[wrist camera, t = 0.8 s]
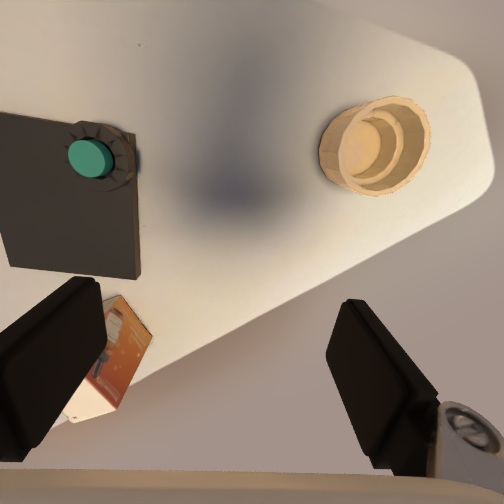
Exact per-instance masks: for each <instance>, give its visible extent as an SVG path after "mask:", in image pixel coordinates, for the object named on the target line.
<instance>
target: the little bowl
mask: <svg viewBox="0 0 504 504" xmlns="http://www.w3.org/2000/svg"><path fill="white" fill-rule="evenodd" d="M430 128H431V127H430V125H429V122H428V119H427V116H426V114H425V111H424V110H423V109H422V108H420V107H419V106H418V105H417V104H416V103H415V102H414V101H413V100H411V99H407V98H402V97H397V96H390V97H386V98H383V99H379V100H375V101H372V102H369V103H366V104H363V105H360V106H357V107H354V108H351V109H348V110H345V111H344V112H343V113H341V114H340V115H339V116H337V117H336V118H335V119H333V120H332V122H331V123H330V125H329V126H328V128H327V129H326V131H325V132H324V134H323V136H322V140H321V144H320V148H319V156H320V164H321V167H322V169H323V171H324V173H325V174H326V176H327V177H328V178H329V179H330V180H331V181H333V182H334V183H336V184H337V185H340V186H342V187H344V188H347V189H349V190H351V191H354V192H356V193H358V194H361V195H367V196H374V197H377V196H381V195H385V194H389V193H393V192H395V191H396V190H398V189H399V188H401V187H402V186H404V185H406V184H407V183H409V182H410V180H411V179H412V178H413V177H414V176H415V174H416V173H417V172H418V171H419V170H420V168H421V167H422V165H423V163H424V160H425V158H426V156H427V153H428V151H429V148H430V134H431V129H430Z"/></svg>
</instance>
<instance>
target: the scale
mask: <svg viewBox="0 0 504 504" xmlns="http://www.w3.org/2000/svg"><path fill="white" fill-rule="evenodd" d="M78 140H94V141H98V142H100V143H102V144H103V145H105V146H106V147H107V148H108V149H109V151H110V152H111V154H112V157H113V167H112V169H111V171H110V172H109V173H108V174H106V175H102V176H98V177H86V176H83V175H81V174H80V173H78V172H77V171H76V170H75V169H74V168H73V167H72V165H71V163H70V161H69V158H68V150H69V147H70V146H71V144H72V143H74V142H75V141H78ZM0 233H1V237H2V240H3V244H4V247H5V250H6V254H7V257H8V261H9V264H10V267H19V268H28V269H37V270H47V271H56V272H65V273H74V274H84V275H93V276H102V277H111V278H121V279H130V280H137V278H138V277H139V276H140V275H141V273H140V248H139V223H138V199H137V174H136V149H135V134H131V133H125V132H119V131H117V130H115V129H114V128H113V127H111V126H110V125H106V124H100V123H94V122H88V121H79V122H77V123H75V124H70V123H64V122H58V121H52V120H46V119H40V118H34V117H28V116H22V115H16V114H9V113H3V112H0Z"/></svg>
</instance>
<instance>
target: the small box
mask: <svg viewBox="0 0 504 504" xmlns="http://www.w3.org/2000/svg"><path fill="white" fill-rule="evenodd" d="M102 303H103V310H104V316H105V323H106V330H107V336H108V341H107V345H106V347H105V349H104V350H103V352H102V353H101V355H100V356H99V358H98V359H97V361H96V362H95V364H94V365H93V367H92V368H91V369H90V371H89V372H88V374H87V375H86V377H85V378H84V380H83V381H82V383H81V384H80V386H79V387H78V389H77V390H76V392H75V393H74V395H73V396H72V397H71V399H70V400H69V402H68V403H67V405H66V406H65V408H64V409H63V411H62V413H63V414H64V415H65V416H66V417H67V418H68V419H69V420H70V421H71V422H72V423H77V422H80V421H83V420H87V419H90V418H93V417H96V416H99V415H103V414H106V413H109V412H112V411H115V410H117V408H118V406H119V404H120V402H121V400H122V398H123V396H124V394H125V392H126V390H127V388H128V386H129V384H130V382H131V380H132V378H133V376H134V374H135V372H136V370H137V368H138V366H139V364H140V362H141V360H142V358H143V356H144V354H145V352H146V349H147V347H148V345H149V343H150V341H151V339H152V336H151V335H150V334H149V333H148V332H147V330H146V329H145V328H144V327H143V325H142V324H141V323H140V321H139V320H138V318H137V317H136V316H135V314H134V313H133V312H132V310H131V309H130V307H129V306H128V305H127V303H126V302H125V300H124V299H123V297H122V296H117V297H114V298H112V299H109V300H106V301H104V302H102Z"/></svg>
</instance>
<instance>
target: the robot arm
mask: <svg viewBox="0 0 504 504" xmlns="http://www.w3.org/2000/svg"><path fill="white" fill-rule="evenodd" d="M107 341H108V336H107V330H106V323H105V316H104V310H103V303H102V296H101V290H100V284H99V283H98V282H95V279H94V278H92V277H81V276H74V277H72V278H71V279H69V280H68V281H67V282H66V283H64V284H63V285H62V286H60V287H59V288H58V289H57V290H55V291H54V292H53V293H51V294H50V295H49V296H47V297H46V298H45V299H44V300H42V301H41V302H40V303H38V304H37V305H36V306H34V307H33V308H32V309H31V310H29V311H28V312H27V313H25V314H24V315H23V316H21V317H20V318H19V319H18V320H16V321H15V322H14V323H12V324H11V325H10V326H8V327H7V328H6V329H5V330H3V331H2V332H1V333H0V462H23V460H24V459H25V457H26V456H27V454H28V453H29V451H30V450H31V449H32V448H35V447H37V446H38V445H39V444H40V443H41V441H42V440H43V439H44V437H45V436H46V434H47V433H48V431H49V430H50V428H51V427H52V425H53V424H54V423H55V421H56V420H57V418H58V417H59V415H60V414H61V412H62V411H63V409H64V408H65V406H66V405H67V403H68V402H69V400H70V399H71V397H72V396H73V395H74V393H75V392H76V390H77V389H78V387H79V386H80V384H81V383H82V381H83V380H84V378H85V377H86V375H87V374H88V372H89V371H90V369H91V368H92V367H93V365H94V364H95V362H96V361H97V359H98V358H99V356H100V355H101V353H102V352H103V350H104V349H105V347H106V345H107ZM326 361H327V363H328V366H329V368H330V371H331V373H332V376H333V378H334V381H335V383H336V386H337V388H338V391H339V393H340V396H341V398H342V401H343V404H344V406H345V408H346V411H347V413H348V416H349V419H350V421H351V424H352V426H353V429H354V431H355V434H356V436H357V439H358V441H359V444H360V446H361V449H362V451H363V453H364V454H365V455H366V456H369V458H370V461H371V463H372V466H373V468H374V469H391V470H392V472H393V474H394V476H384V475H362V474H361V475H360V474H315V473H275V472H274V473H273V472H221V471H220V472H219V471H161V470H81V469H80V470H79V469H0V504H504V438H503V437H502V435H501V434H500V432H499V431H498V430H497V429H496V428H495V427H494V426H493V425H492V424H491V423H490V422H489V421H488V420H487V419H485V418H484V417H483V416H482V415H480V414H479V413H477V412H476V411H474V410H472V409H471V408H469V407H467V406H465V405H462V404H460V403H456V402H452V401H448V402H447V401H446V402H443V403H442V404H441V403H440V402H439V401H438V400H437V398H436V396H437V395H438V392H437V391H436V389H435V388H434V387H433V386H432V385H431V383H430V382H429V381H428V380H427V378H426V377H425V376H424V374H423V373H422V372H421V371H420V370H419V368H418V367H417V366H416V365H415V363H414V362H413V361H412V359H411V358H410V357H409V356H408V355H407V353H406V352H405V351H404V350H403V348H402V347H401V346H400V345H399V343H398V342H397V341H396V340H395V338H394V337H393V336H392V335H391V333H390V332H389V331H388V330H387V329H386V327H385V326H384V325H383V323H382V322H381V321H380V320H379V318H378V317H377V316H376V315H375V313H374V312H373V311H372V310H371V308H370V307H369V306H368V305H367V303H366V302H365V301H364V300H357V299H348V300H347V301H346V302H343V303H342V305H341V308H340V311H339V314H338V317H337V320H336V323H335V326H334V329H333V332H332V335H331V338H330V341H329V344H328V347H327V350H326Z"/></svg>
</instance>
